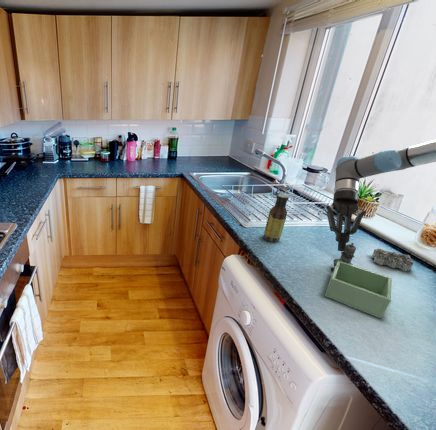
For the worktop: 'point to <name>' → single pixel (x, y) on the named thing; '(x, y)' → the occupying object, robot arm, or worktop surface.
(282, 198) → the sauce bottle
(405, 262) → the egg carton
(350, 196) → the robot arm
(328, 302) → the worktop surface
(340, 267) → the box
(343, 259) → the dark stone statuette
